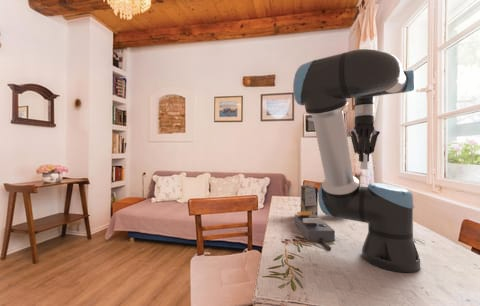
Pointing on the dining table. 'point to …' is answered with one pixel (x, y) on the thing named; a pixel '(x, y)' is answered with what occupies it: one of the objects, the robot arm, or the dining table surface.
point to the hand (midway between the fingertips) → (363, 169)
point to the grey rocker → (311, 220)
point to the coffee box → (309, 199)
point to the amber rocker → (304, 213)
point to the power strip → (315, 230)
